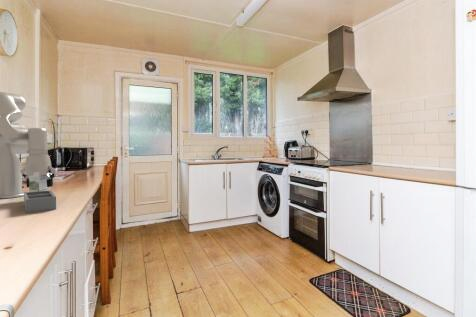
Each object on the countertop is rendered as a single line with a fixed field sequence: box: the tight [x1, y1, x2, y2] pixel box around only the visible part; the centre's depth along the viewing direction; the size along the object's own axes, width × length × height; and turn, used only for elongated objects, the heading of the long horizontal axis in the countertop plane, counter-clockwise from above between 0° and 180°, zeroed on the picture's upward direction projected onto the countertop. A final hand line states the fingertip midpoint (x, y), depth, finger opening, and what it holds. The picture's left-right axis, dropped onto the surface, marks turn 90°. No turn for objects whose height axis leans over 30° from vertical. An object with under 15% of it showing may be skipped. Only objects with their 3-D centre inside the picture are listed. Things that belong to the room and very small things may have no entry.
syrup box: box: [28, 172, 50, 192], centre depth 126 cm, size 6×6×14 cm
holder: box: [23, 190, 57, 214], centre depth 111 cm, size 19×10×6 cm, turn 42°
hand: (39, 186), depth 126 cm, fingers open, 9 cm apart
